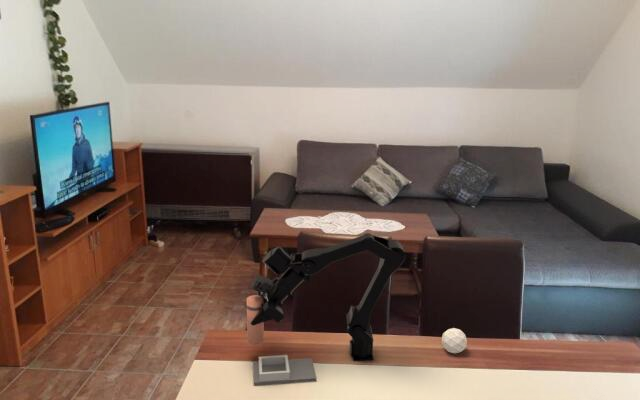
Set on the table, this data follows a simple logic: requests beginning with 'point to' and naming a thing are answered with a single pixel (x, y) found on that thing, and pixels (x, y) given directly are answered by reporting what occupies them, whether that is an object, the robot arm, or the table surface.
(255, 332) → the banded pink rod
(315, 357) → the table surface
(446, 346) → the geometric ball
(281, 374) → the jig
